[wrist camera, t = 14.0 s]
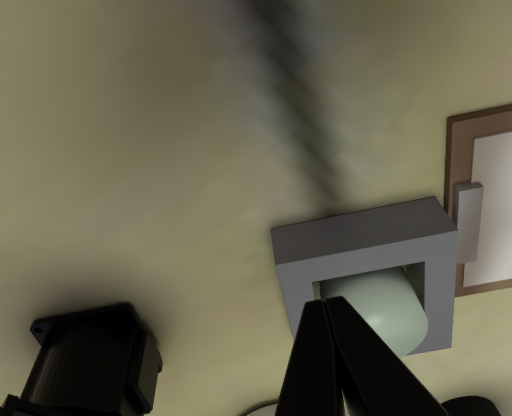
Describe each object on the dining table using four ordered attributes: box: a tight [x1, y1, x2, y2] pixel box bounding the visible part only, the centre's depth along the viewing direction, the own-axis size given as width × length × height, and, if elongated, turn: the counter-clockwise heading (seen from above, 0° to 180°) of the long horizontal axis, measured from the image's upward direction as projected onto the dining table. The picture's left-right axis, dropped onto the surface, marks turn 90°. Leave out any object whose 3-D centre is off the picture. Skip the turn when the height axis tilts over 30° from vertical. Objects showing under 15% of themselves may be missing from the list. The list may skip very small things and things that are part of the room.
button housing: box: [271, 197, 459, 356], centre depth 26 cm, size 9×9×3 cm
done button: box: [320, 265, 428, 358], centre depth 25 cm, size 5×5×4 cm
